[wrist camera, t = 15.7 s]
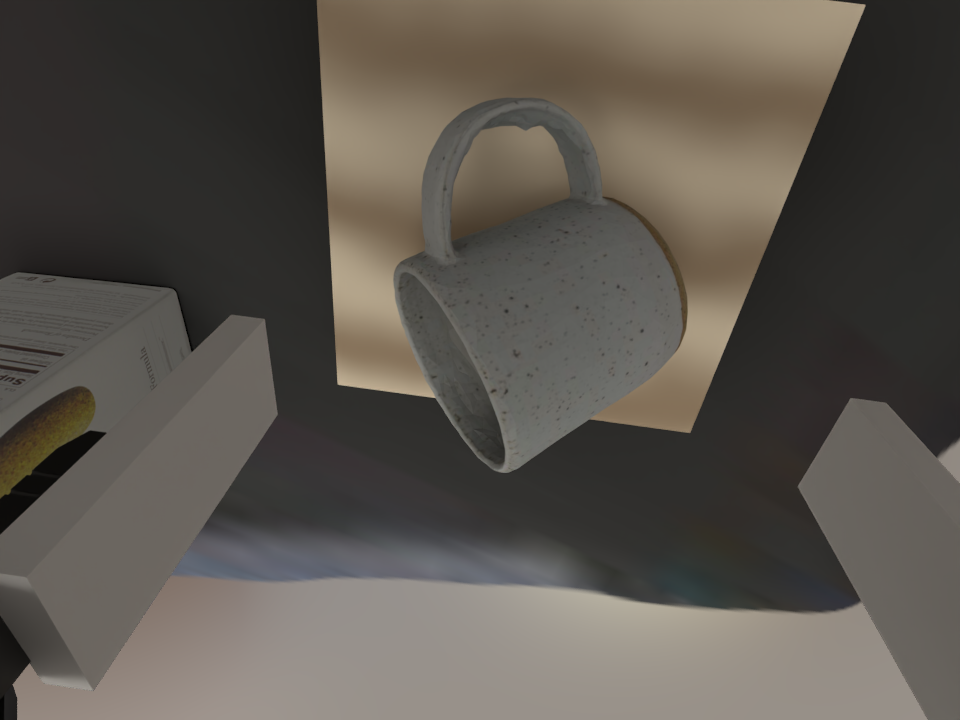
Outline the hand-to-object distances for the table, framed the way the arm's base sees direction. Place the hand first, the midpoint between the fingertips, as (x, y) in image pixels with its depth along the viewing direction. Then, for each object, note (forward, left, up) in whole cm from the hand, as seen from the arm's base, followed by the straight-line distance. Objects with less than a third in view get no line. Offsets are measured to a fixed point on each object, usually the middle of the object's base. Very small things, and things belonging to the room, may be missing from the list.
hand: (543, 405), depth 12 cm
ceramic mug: (0, 0, -12) cm, 12 cm away
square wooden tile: (0, 0, -15) cm, 15 cm away
